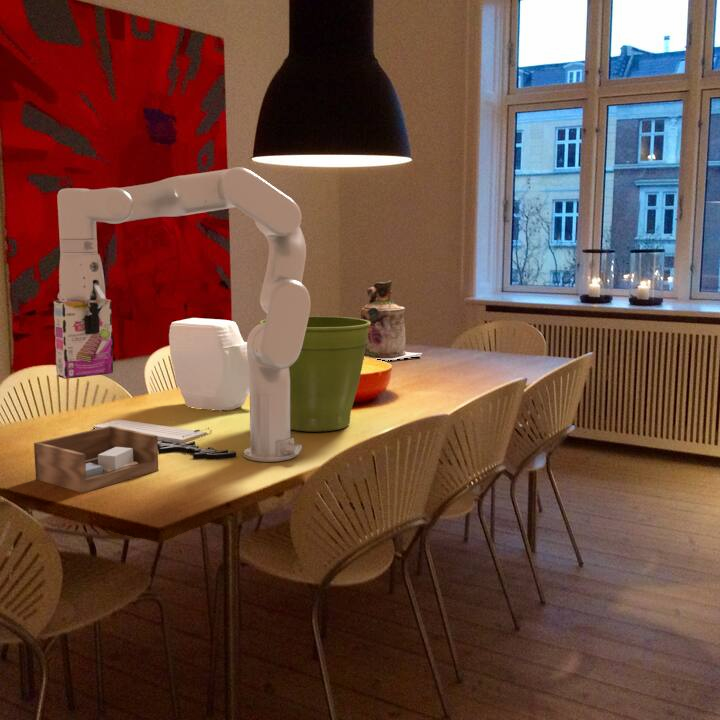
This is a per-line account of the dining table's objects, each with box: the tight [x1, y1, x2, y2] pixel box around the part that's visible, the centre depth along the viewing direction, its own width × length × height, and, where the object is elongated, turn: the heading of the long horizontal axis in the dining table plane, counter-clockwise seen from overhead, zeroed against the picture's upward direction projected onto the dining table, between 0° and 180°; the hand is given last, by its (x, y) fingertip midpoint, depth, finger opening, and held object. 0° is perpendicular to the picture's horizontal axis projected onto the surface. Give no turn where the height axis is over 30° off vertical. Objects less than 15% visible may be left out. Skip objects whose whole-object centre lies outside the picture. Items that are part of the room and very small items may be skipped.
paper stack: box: [168, 317, 250, 411], centre depth 256 cm, size 21×27×26 cm
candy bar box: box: [53, 298, 114, 380], centre depth 185 cm, size 11×5×16 cm, turn 134°
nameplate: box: [157, 439, 237, 460], centre depth 208 cm, size 28×2×10 cm
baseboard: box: [92, 418, 213, 443], centre depth 228 cm, size 31×3×12 cm
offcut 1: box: [86, 463, 103, 478], centre depth 181 cm, size 4×4×4 cm
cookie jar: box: [359, 280, 423, 362], centre depth 356 cm, size 25×25×32 cm
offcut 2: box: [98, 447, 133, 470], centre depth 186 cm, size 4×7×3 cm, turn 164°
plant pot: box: [259, 315, 370, 433], centre depth 233 cm, size 30×30×29 cm
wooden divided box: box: [33, 426, 159, 494], centre depth 187 cm, size 16×20×8 cm
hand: (83, 331), depth 185 cm, fingers closed on candy bar box, 5 cm apart
